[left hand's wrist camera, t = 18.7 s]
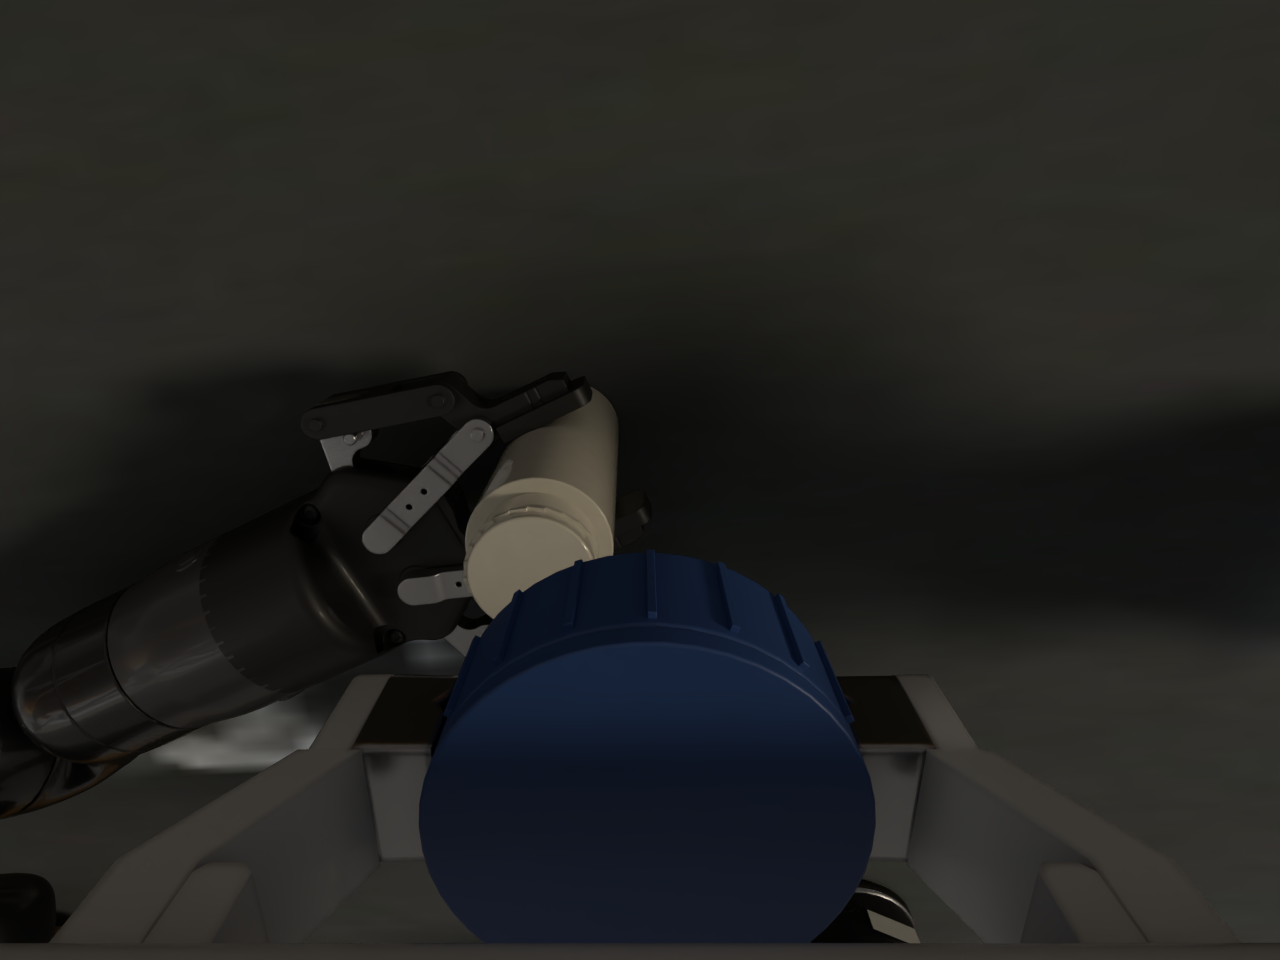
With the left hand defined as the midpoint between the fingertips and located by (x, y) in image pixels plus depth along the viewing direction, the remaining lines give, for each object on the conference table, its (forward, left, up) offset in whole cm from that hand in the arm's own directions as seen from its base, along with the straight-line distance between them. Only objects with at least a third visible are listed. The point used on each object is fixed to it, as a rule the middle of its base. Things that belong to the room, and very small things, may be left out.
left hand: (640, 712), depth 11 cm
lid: (0, 0, +2) cm, 2 cm away
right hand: (0, +2, -19) cm, 19 cm away
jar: (+1, +4, -26) cm, 26 cm away
